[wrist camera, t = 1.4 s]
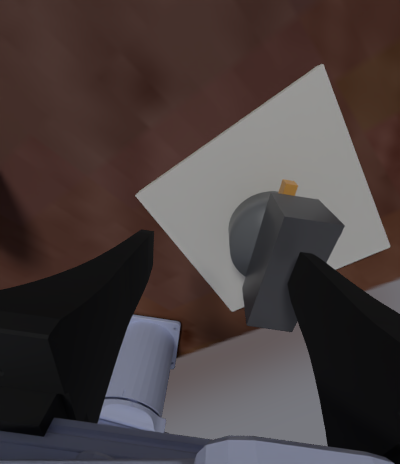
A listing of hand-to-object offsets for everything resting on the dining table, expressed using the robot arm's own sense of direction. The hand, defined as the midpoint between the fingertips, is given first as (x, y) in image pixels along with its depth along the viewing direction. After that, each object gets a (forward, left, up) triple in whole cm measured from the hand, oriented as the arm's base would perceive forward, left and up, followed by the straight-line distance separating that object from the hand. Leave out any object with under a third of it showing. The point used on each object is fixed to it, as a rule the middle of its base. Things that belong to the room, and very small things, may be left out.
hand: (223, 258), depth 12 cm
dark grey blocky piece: (-1, -4, -8) cm, 9 cm away
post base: (-2, -4, -10) cm, 11 cm away
